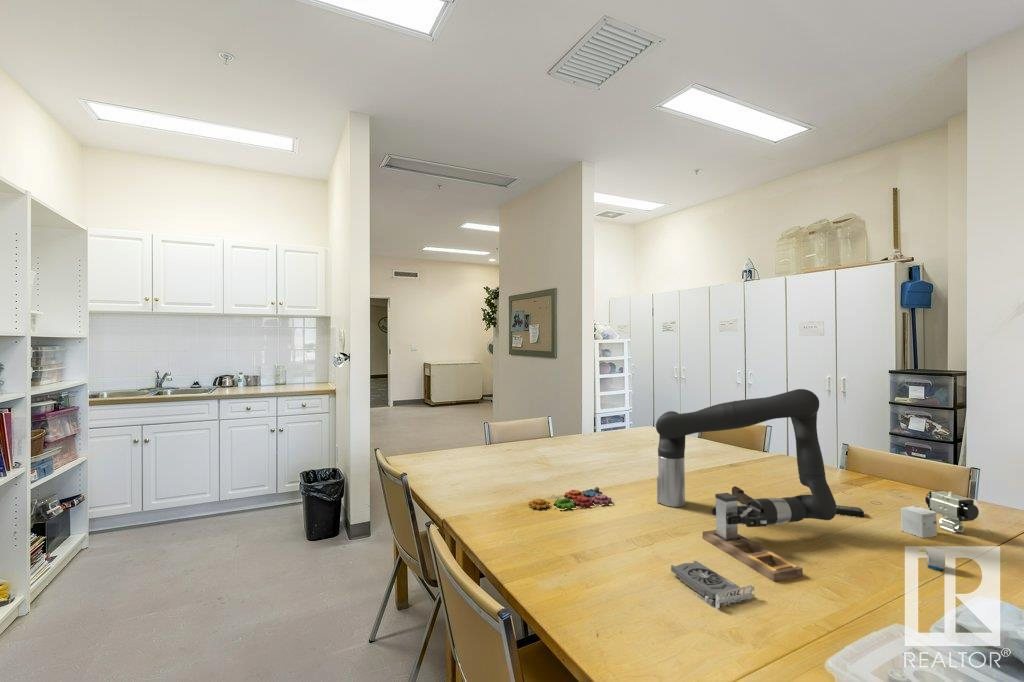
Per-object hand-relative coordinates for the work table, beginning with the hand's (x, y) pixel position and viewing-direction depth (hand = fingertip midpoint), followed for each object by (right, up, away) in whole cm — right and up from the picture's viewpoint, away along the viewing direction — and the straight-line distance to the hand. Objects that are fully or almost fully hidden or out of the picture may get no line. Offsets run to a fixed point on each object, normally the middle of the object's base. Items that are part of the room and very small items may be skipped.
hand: (719, 515), depth 133 cm
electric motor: (+49, -8, -15) cm, 51 cm away
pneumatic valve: (+75, -8, +7) cm, 75 cm away
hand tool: (+23, -8, +31) cm, 40 cm away
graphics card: (-13, -9, -23) cm, 28 cm away
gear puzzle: (-40, -9, +36) cm, 55 cm away
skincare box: (+63, -8, +6) cm, 64 cm away
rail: (+5, -8, -7) cm, 12 cm away
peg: (+2, -8, 0) cm, 9 cm away
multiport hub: (+51, -8, +23) cm, 57 cm away
